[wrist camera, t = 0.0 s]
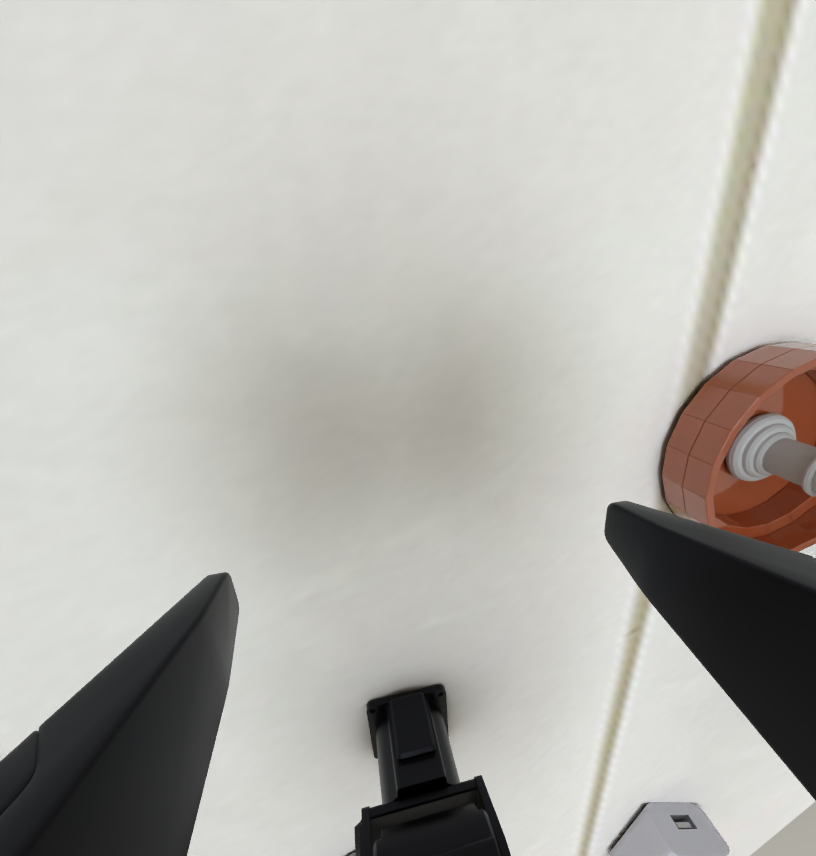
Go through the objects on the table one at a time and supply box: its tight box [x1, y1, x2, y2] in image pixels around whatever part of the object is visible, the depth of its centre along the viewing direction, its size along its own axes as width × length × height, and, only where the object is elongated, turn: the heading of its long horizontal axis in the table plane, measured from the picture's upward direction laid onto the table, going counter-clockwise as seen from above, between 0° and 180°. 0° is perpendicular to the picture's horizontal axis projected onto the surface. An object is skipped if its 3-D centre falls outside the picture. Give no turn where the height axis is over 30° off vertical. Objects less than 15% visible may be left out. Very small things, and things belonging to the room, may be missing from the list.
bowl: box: [662, 342, 816, 552], centre depth 27 cm, size 15×15×4 cm
